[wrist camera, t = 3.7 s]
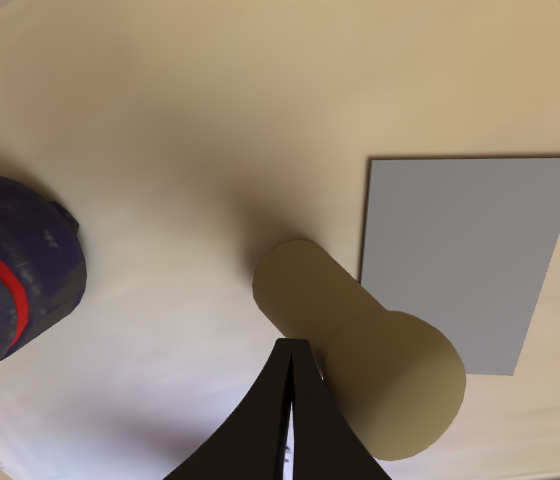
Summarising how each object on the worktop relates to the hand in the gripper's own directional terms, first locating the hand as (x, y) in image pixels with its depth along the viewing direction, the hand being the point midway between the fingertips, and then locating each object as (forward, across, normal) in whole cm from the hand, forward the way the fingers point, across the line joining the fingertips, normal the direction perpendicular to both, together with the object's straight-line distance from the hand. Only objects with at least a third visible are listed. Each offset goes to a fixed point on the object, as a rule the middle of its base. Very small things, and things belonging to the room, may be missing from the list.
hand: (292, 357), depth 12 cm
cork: (+7, 0, 0) cm, 7 cm away
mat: (+8, -11, 0) cm, 14 cm away
